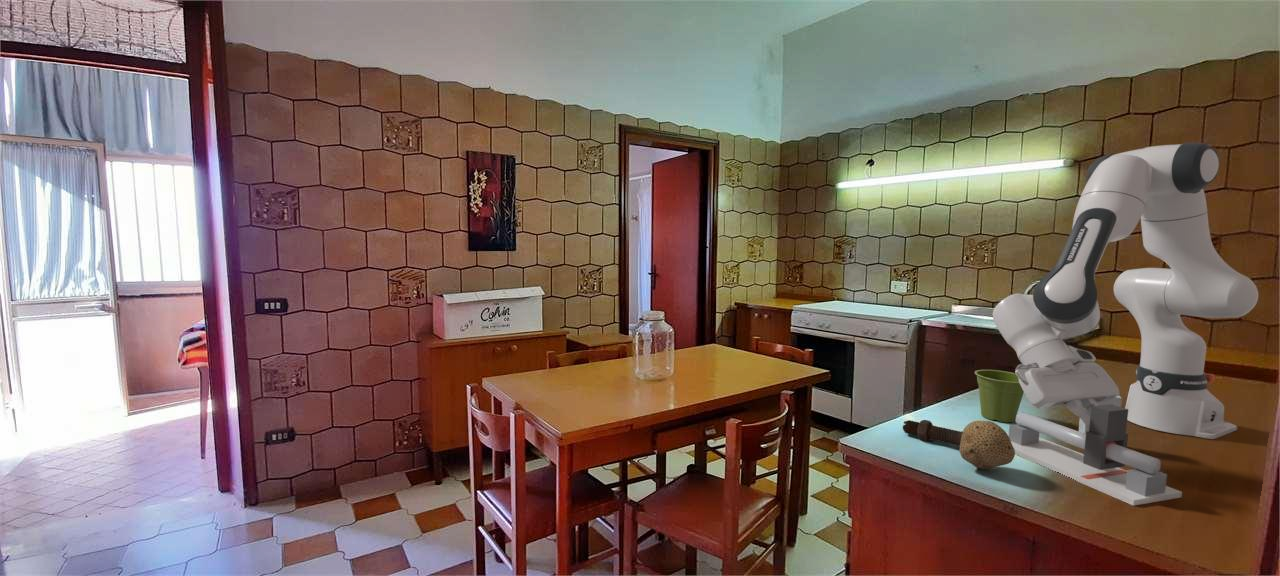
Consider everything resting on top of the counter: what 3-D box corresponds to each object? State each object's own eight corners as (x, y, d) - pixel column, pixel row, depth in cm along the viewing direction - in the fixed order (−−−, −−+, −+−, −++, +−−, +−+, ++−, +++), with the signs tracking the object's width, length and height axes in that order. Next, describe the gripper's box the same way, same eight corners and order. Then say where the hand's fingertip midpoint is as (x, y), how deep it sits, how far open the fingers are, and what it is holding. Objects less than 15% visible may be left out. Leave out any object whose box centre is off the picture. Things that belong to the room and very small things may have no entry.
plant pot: (1011, 429, 127) (1015, 384, 125) (961, 414, 137) (964, 372, 136) (1036, 421, 132) (1040, 378, 131) (986, 407, 143) (989, 367, 141)
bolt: (905, 440, 124) (978, 458, 113) (898, 435, 121) (972, 453, 110) (910, 417, 126) (982, 432, 115) (903, 411, 123) (977, 426, 112)
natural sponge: (1021, 473, 103) (1025, 424, 102) (999, 484, 99) (1003, 433, 98) (972, 456, 111) (975, 411, 110) (949, 466, 106) (953, 419, 105)
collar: (1083, 463, 102) (1088, 406, 101) (1107, 459, 103) (1113, 404, 102) (1100, 469, 99) (1106, 411, 98) (1124, 466, 100) (1131, 409, 99)
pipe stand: (993, 444, 117) (996, 411, 116) (1034, 439, 120) (1037, 407, 119) (1133, 505, 91) (1137, 463, 90) (1181, 497, 94) (1186, 455, 94)
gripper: (1022, 357, 106) (1068, 420, 97) (1097, 352, 111) (1147, 412, 103) (1000, 372, 110) (1042, 434, 102) (1073, 367, 116) (1119, 425, 107)
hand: (1095, 423), depth 102 cm, fingers closed, pressing on collar
